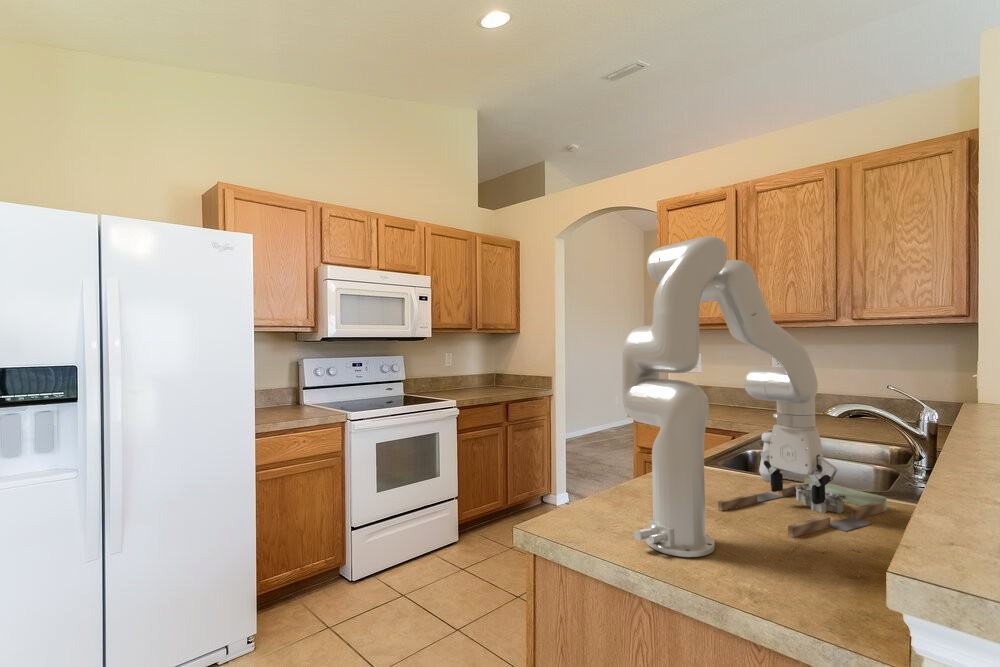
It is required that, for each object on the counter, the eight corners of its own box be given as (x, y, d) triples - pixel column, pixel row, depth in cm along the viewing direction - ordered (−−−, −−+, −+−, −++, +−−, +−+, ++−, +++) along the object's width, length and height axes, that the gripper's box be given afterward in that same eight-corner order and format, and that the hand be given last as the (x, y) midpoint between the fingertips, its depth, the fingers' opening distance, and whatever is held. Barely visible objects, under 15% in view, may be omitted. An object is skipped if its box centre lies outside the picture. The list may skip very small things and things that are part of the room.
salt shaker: (781, 484, 134) (780, 435, 134) (757, 480, 137) (756, 433, 137) (784, 479, 138) (783, 432, 138) (761, 476, 142) (760, 430, 142)
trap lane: (807, 543, 96) (807, 527, 96) (707, 506, 118) (707, 493, 118) (902, 514, 110) (901, 501, 110) (796, 486, 132) (796, 475, 132)
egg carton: (849, 515, 111) (848, 496, 111) (812, 513, 112) (812, 495, 112) (825, 499, 122) (825, 482, 122) (792, 498, 123) (791, 481, 123)
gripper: (750, 417, 120) (751, 488, 119) (824, 428, 104) (825, 511, 104) (771, 415, 123) (772, 484, 123) (845, 425, 107) (847, 505, 107)
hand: (796, 496), depth 113 cm, fingers open, 9 cm apart
